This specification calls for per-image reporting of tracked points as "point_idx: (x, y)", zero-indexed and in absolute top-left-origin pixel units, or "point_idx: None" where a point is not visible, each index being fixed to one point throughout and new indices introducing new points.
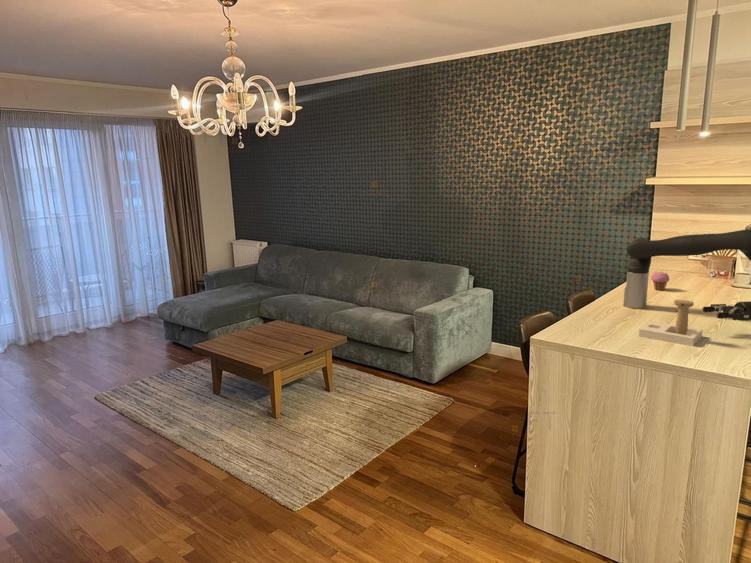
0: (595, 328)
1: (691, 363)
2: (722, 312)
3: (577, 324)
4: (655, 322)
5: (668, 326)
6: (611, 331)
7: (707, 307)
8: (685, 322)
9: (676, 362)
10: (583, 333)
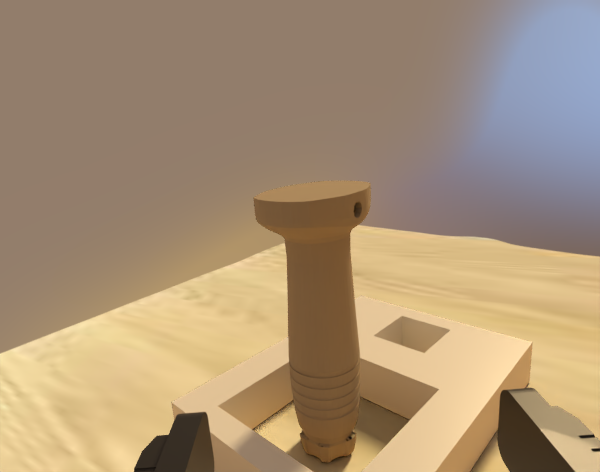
0: (444, 271)
1: (19, 366)
2: (183, 458)
3: (478, 255)
4: (503, 351)
5: (426, 376)
6: (416, 288)
7: (526, 422)
8: (288, 338)
9: (62, 340)
10: (382, 256)
